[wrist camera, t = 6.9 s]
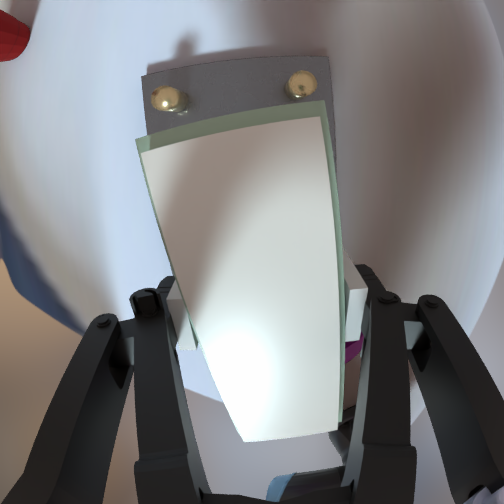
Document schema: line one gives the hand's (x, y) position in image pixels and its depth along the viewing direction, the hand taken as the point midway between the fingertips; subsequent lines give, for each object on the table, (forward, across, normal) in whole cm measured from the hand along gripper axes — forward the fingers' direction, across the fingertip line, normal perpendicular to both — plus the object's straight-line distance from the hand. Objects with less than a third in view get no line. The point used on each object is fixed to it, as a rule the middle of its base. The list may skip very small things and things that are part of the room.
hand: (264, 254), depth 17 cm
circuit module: (+1, 0, 0) cm, 1 cm away
